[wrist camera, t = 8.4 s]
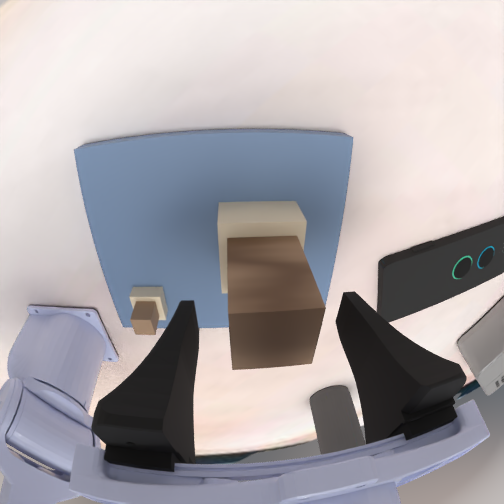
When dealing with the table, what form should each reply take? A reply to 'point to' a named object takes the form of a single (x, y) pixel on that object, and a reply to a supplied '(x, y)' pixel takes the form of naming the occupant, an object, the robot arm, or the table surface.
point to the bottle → (335, 420)
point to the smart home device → (439, 270)
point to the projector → (486, 349)
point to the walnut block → (271, 303)
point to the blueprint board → (207, 211)
